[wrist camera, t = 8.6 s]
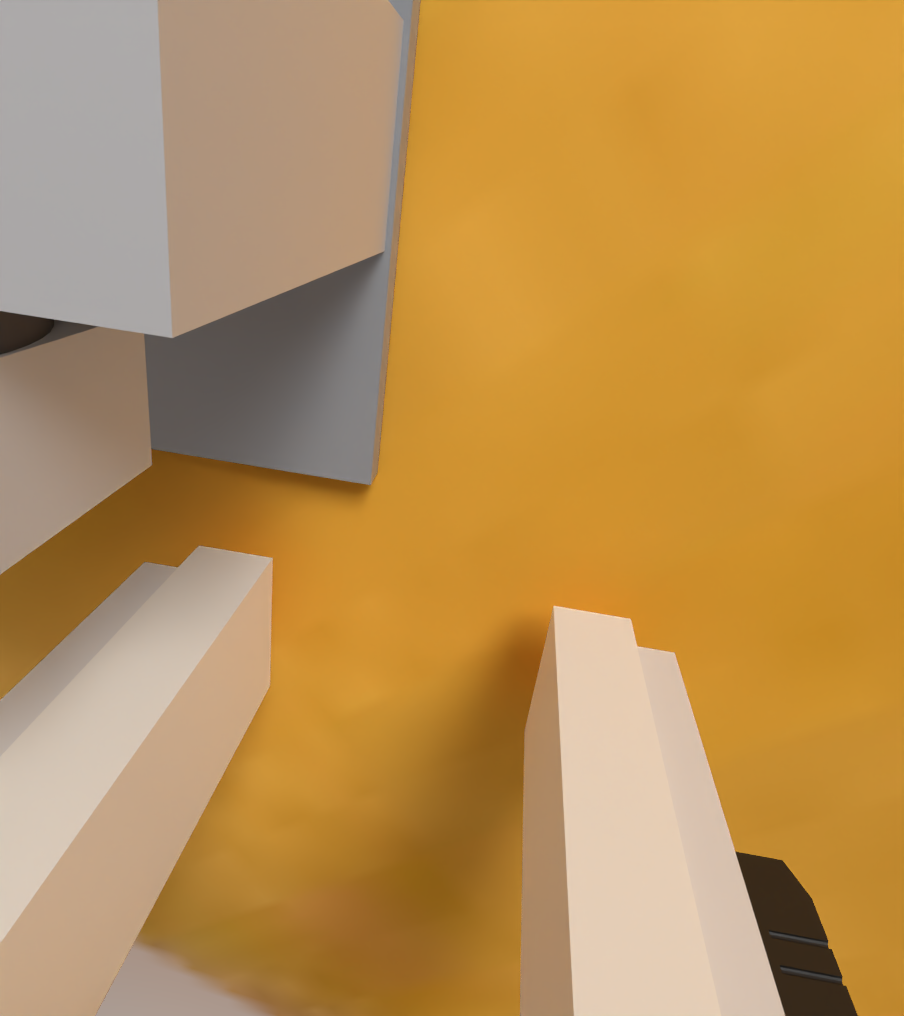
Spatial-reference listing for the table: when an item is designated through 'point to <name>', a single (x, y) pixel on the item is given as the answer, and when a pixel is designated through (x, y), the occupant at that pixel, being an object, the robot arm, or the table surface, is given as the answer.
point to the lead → (66, 424)
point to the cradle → (217, 208)
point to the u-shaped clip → (211, 745)
